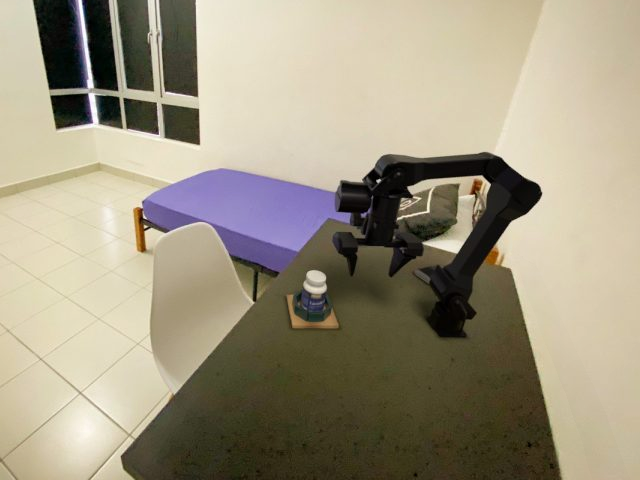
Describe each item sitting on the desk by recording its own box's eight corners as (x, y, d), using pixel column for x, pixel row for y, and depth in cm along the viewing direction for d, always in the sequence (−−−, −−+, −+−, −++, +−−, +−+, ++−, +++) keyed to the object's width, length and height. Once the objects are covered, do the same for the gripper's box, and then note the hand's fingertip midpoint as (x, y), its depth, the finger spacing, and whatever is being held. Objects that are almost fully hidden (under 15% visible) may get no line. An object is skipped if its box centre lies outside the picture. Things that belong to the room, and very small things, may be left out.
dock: (327, 298, 89) (328, 287, 87) (338, 328, 78) (340, 316, 77) (286, 297, 88) (287, 286, 87) (292, 328, 78) (293, 316, 77)
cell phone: (456, 278, 100) (457, 274, 99) (429, 285, 96) (430, 281, 95) (438, 267, 105) (439, 263, 105) (412, 274, 101) (413, 270, 101)
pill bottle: (309, 320, 79) (314, 285, 76) (295, 305, 84) (299, 272, 80) (328, 312, 82) (333, 278, 78) (313, 299, 86) (317, 266, 83)
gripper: (407, 201, 79) (394, 257, 85) (330, 198, 78) (322, 256, 83) (433, 221, 69) (416, 284, 74) (344, 219, 67) (334, 283, 73)
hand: (370, 275), depth 76 cm, fingers open, 9 cm apart
